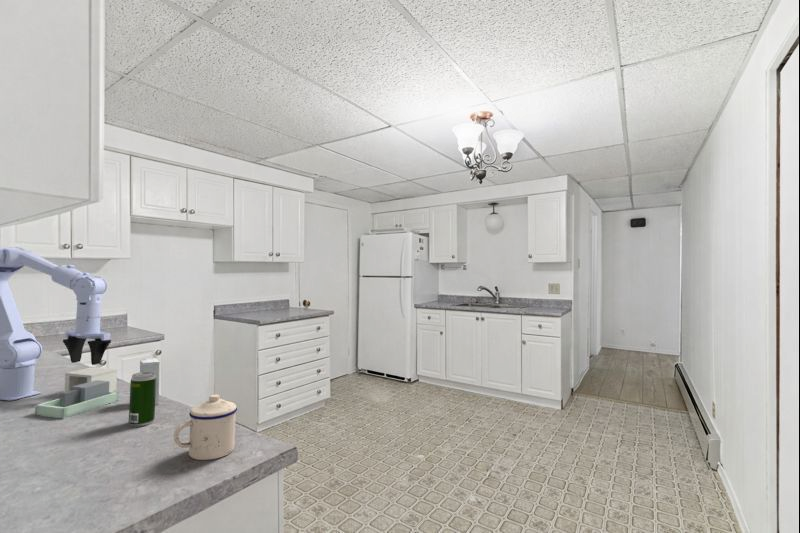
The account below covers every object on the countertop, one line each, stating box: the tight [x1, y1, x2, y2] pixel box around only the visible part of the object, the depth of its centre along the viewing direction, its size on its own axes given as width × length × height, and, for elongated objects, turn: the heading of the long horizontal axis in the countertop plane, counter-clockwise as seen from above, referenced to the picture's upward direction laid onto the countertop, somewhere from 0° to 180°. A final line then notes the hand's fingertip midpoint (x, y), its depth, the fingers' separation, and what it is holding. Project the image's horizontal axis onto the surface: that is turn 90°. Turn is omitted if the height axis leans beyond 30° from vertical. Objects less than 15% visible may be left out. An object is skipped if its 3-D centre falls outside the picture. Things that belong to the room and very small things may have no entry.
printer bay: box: [64, 366, 118, 392], centre depth 120 cm, size 10×8×6 cm
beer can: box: [128, 372, 156, 428], centre depth 97 cm, size 5×5×12 cm
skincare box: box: [139, 358, 160, 406], centre depth 112 cm, size 6×4×12 cm
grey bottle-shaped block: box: [59, 380, 109, 407], centre depth 108 cm, size 4×11×5 cm, turn 168°
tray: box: [34, 391, 119, 420], centre depth 107 cm, size 9×15×2 cm, turn 168°
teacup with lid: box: [173, 394, 238, 461], centre depth 82 cm, size 12×9×12 cm
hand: (85, 363), depth 117 cm, fingers open, 7 cm apart
